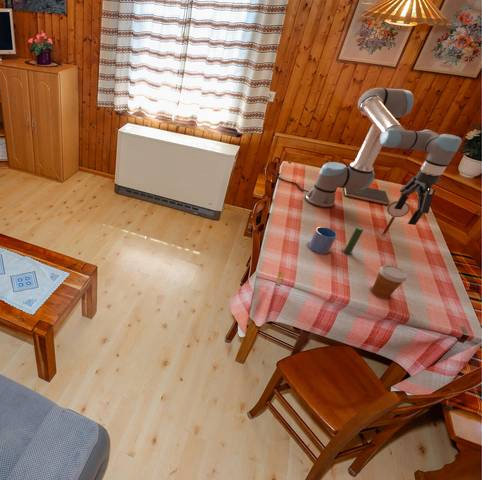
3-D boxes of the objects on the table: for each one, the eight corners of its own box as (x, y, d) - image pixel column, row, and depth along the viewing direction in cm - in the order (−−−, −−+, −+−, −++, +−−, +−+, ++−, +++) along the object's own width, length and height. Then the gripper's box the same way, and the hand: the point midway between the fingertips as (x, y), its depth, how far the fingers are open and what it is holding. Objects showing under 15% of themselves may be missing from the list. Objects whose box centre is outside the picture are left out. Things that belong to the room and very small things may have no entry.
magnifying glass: (392, 236, 194) (412, 203, 182) (393, 238, 192) (413, 204, 181) (373, 231, 197) (392, 198, 185) (373, 233, 195) (392, 200, 184)
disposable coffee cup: (389, 288, 160) (404, 267, 153) (396, 303, 152) (411, 281, 145) (365, 283, 162) (378, 261, 155) (370, 297, 154) (384, 275, 148)
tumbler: (305, 247, 182) (313, 231, 176) (313, 240, 187) (320, 224, 182) (324, 256, 177) (332, 239, 171) (331, 248, 182) (340, 232, 176)
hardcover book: (387, 205, 222) (389, 201, 220) (344, 196, 229) (346, 192, 227) (383, 193, 234) (385, 190, 232) (342, 185, 241) (344, 182, 240)
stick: (342, 252, 180) (355, 228, 172) (344, 249, 182) (357, 225, 174) (349, 255, 178) (362, 230, 170) (351, 252, 180) (364, 228, 172)
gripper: (457, 187, 145) (427, 232, 157) (425, 162, 165) (400, 204, 177) (436, 184, 146) (408, 229, 158) (406, 160, 166) (383, 201, 178)
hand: (404, 216), depth 168 cm, fingers open, 13 cm apart
